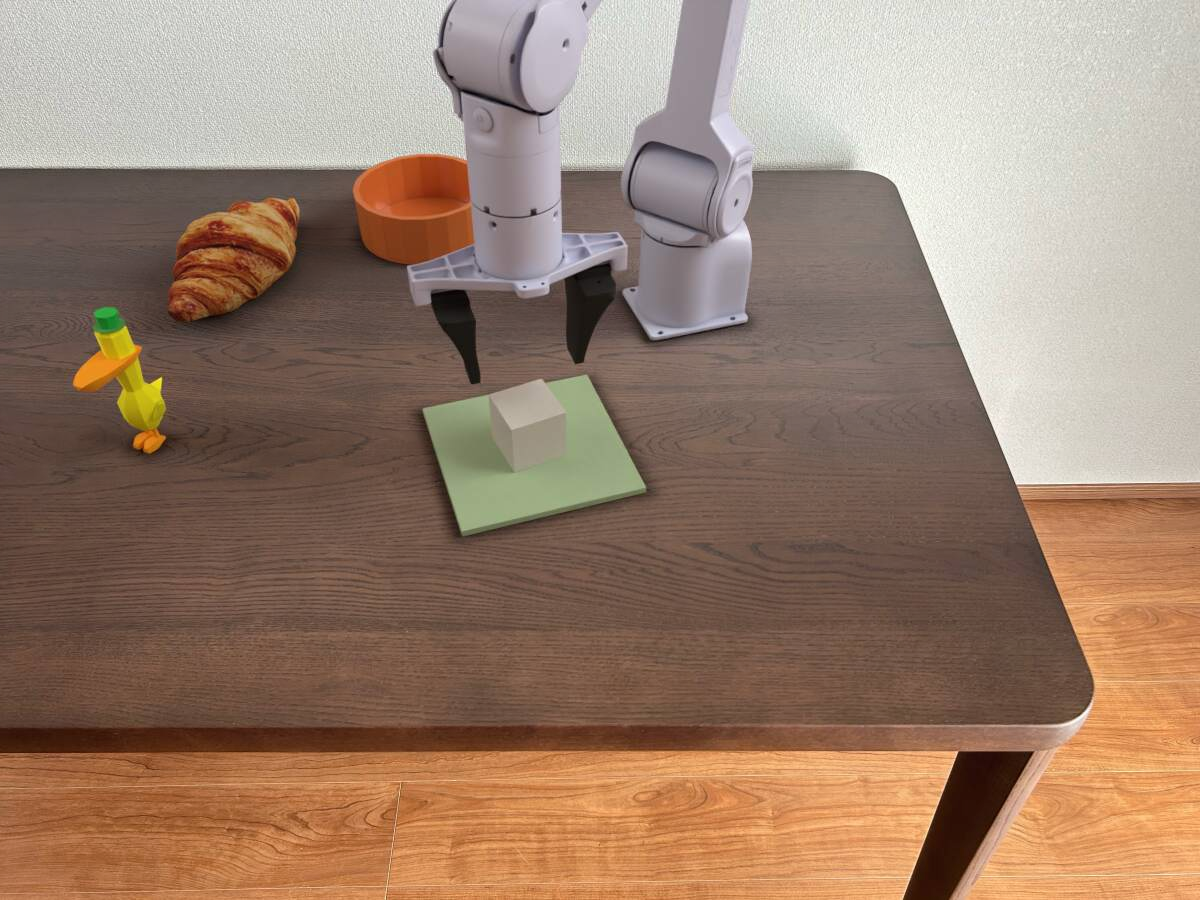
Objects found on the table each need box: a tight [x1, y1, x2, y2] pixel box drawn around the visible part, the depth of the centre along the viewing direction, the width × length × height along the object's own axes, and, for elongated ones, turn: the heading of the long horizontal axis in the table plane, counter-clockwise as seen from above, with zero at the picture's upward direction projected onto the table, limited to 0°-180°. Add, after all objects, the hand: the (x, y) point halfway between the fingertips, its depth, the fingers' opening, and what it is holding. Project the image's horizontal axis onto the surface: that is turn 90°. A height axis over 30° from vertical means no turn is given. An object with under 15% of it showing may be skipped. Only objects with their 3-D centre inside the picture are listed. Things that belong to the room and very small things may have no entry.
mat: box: [422, 374, 647, 538], centre depth 75 cm, size 14×14×1 cm
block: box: [488, 378, 567, 473], centre depth 73 cm, size 4×4×4 cm
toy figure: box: [72, 306, 167, 455], centre depth 71 cm, size 7×4×12 cm, turn 157°
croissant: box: [166, 197, 301, 323], centre depth 91 cm, size 21×10×8 cm, turn 166°
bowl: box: [352, 153, 474, 265], centre depth 97 cm, size 13×13×5 cm
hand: (524, 365), depth 70 cm, fingers open, 7 cm apart
